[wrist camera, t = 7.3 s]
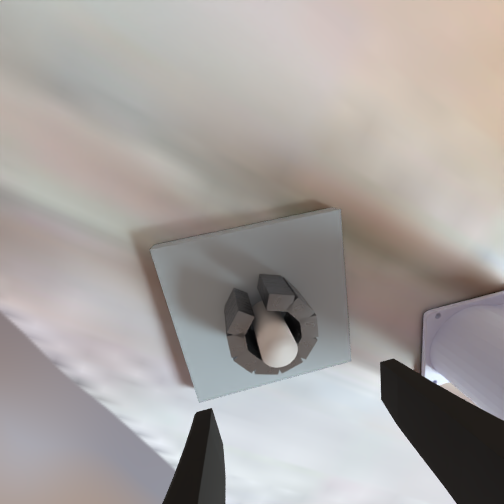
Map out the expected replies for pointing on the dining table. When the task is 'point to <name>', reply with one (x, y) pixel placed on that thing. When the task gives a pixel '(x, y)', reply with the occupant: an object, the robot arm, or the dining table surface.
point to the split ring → (274, 299)
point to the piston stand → (256, 296)
